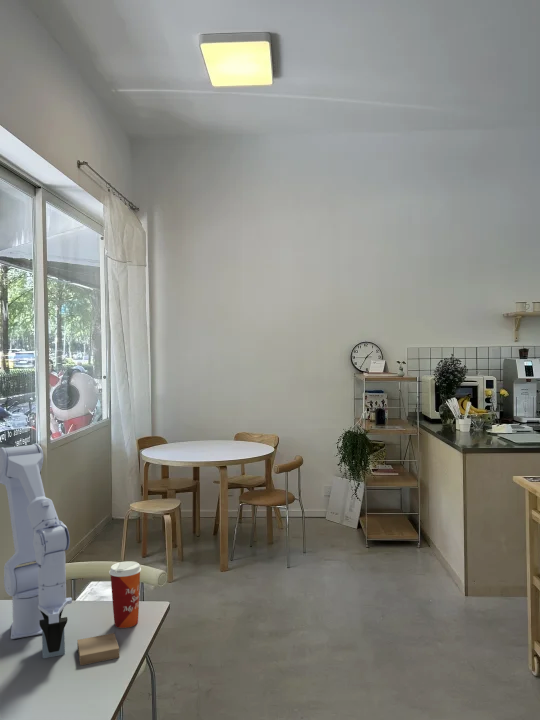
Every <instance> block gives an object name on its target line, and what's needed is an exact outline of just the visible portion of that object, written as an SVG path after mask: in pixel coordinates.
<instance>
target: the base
mask: <svg viewBox="0 0 540 720" xmlns="http://www.w3.org/2000/svg"><path fill="white" fill-rule="evenodd" d="M77 653H78V659H79V666H84V665H89V664H90V665H91V664H94V663H95V664H96V663H99V662H104V661H109V660H113V659H114V660H115V659H118V658H119V659H120V646H119V644H118V641H117V638H116V633H115V632H111V633H106V634H102V635H95V636H90V637H86V638H80V639H77Z"/></svg>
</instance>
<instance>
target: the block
mask: <svg viewBox="0 0 540 720" xmlns="http://www.w3.org/2000/svg"><path fill="white" fill-rule="evenodd" d="M65 639H66V638H65V629H64V630H63V634H62V639H61V645H60V649H59V651H56V652H51V653H49V651H48V647H47V642H46V638H45V635H44V632H43V630H42V634H41V641H42V643H41V644H42V659H46V658H51V657H58V656H62V655H65V654H66V651H65V650H66V648H65V647H66V646H65V643H66V641H65Z"/></svg>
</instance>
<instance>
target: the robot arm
mask: <svg viewBox="0 0 540 720" xmlns="http://www.w3.org/2000/svg"><path fill="white" fill-rule="evenodd" d="M44 458H45V457H44V450H43V448H42V447H41V446H40V444H39V443H34V444H30V445H21V446H20V445H19V446H11V447H10V446H9V447H3V446H2V447H0V484H1V485H4V486H5V489H6V493H7V499H8V501H7V502H8V508H9V515H10V524H11V531H12V532H11V533H12V540H13V546H14V547H13V548H14V554H12V556H10V558H9V559H7V561H6V562H5V564H4V567H3V571H4V572H3V575H4V576H3V586H4V589H5V593H6V594H7V595H8V596H10V597H12V600H11V601H12V622H11V629H10V639H11V640H15V639H20V638H26V637H33V636H38V635H42V630H43V632H44V635H45V638H46V642H47V647H48V651H49V653H51V652H56V651H59V649H60V645H61V639H62V634H63V630H64V631H65V627H66V625H67V623H68V621H69V620H68V616H65V617H62V614H63V611H64V609H65V608H66V606H67V605H69V604H70V605H71V604H72V603H73V598H72V597H67V584H66V583H67V571H66V569H67V567H66V551H68V550H69V549H70V544H71V538H70V537H71V536H70V532H69V529H68V527H67V525H66V524H64V522H63V521H62V520H60V519H59V516H58V513H57V511H56V508H55V505H54V502H53V500H52V499H51V498H49V497H46V493H45V489H44V488H45V487H44V484H43V480H42V475H41V472H42V469H43V464H44ZM33 562H34V563H33ZM23 564H25V565H23ZM19 565H21V566H19Z"/></svg>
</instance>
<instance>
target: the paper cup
mask: <svg viewBox="0 0 540 720" xmlns="http://www.w3.org/2000/svg"><path fill="white" fill-rule="evenodd" d="M141 571H142V568H141V566H140V563H138V562H137V561H134V560H133V561H131V560H130V561H127V560H126V561H119V562H116V563H114V564H112V565H111V566H110V570H109V571H108V573H109V575H110V587H111V588H110V589H111V597H112V599H111V600H112V609H113V610H112V612H113V622H114V626H115V628H118V629H128V628H132V627H134V626H136V625H138V623H139V608H140V579H141Z"/></svg>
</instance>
